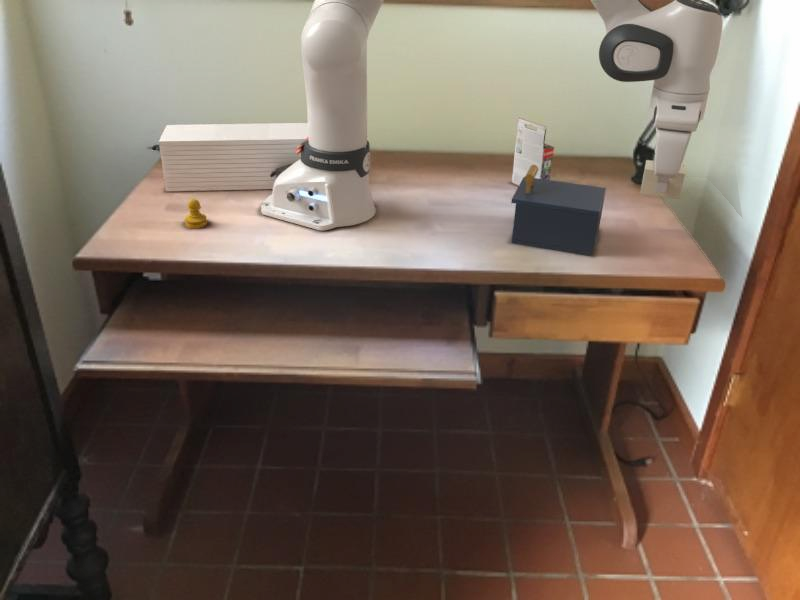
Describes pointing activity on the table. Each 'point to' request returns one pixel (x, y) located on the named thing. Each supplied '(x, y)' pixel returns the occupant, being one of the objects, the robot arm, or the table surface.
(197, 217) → the chess piece
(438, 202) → the table surface
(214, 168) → the white ribbed box
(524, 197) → the lid
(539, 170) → the ink box
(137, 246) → the table surface
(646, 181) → the cream box
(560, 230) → the chest
